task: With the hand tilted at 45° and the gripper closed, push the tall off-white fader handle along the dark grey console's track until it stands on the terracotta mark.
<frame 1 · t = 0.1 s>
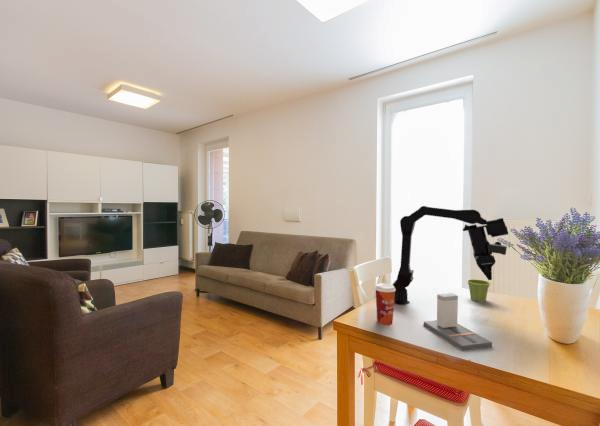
hand: (488, 277, 119), 15 cm above the table, tool pointing down, fingers open, 9 cm apart
fader handle: (447, 310, 105), point 7 cm above the table, slide at 0.0 cm
fader console: (455, 335, 101), on the table
paper cup: (384, 322, 113), on the table
plant pot: (478, 300, 138), on the table
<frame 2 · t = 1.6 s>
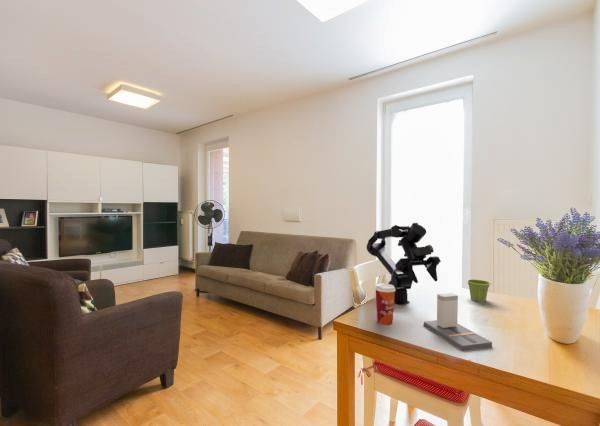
hand: (426, 281, 118), 14 cm above the table, tool tilted 40°, fingers open, 9 cm apart
nothing on the table moved.
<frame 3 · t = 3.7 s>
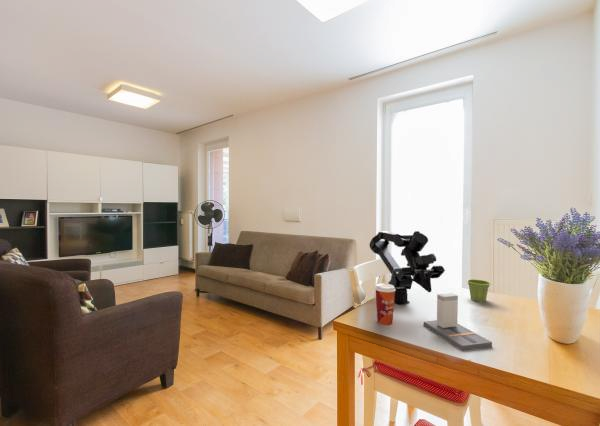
hand: (430, 291, 114), 11 cm above the table, tool tilted 45°, fingers closed
nothing on the table moved.
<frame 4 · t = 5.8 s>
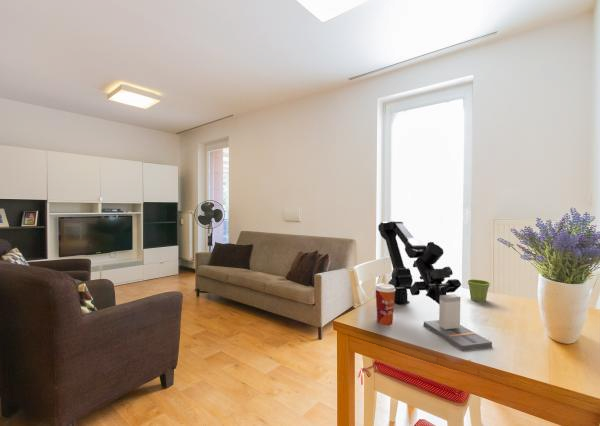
hand: (446, 308, 106), 8 cm above the table, tool tilted 45°, fingers closed, pressing on fader handle
fader handle: (449, 311, 104), point 7 cm above the table, slide at 1.2 cm, touching gripper
everything else where it was.
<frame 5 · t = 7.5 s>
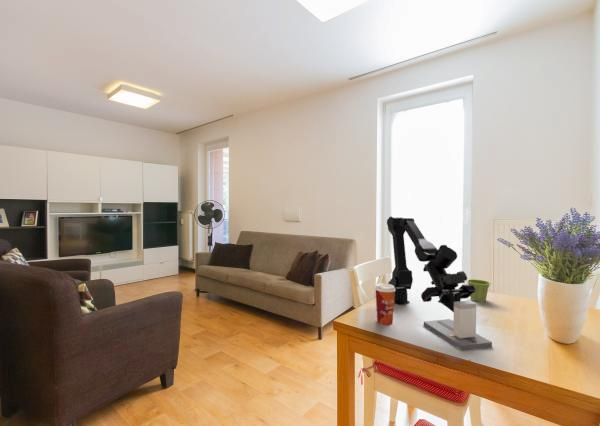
hand: (460, 316, 99), 8 cm above the table, tool tilted 45°, fingers closed, pressing on fader handle
fader handle: (464, 319, 97), point 7 cm above the table, slide at 8.2 cm, touching gripper
everything else where it was.
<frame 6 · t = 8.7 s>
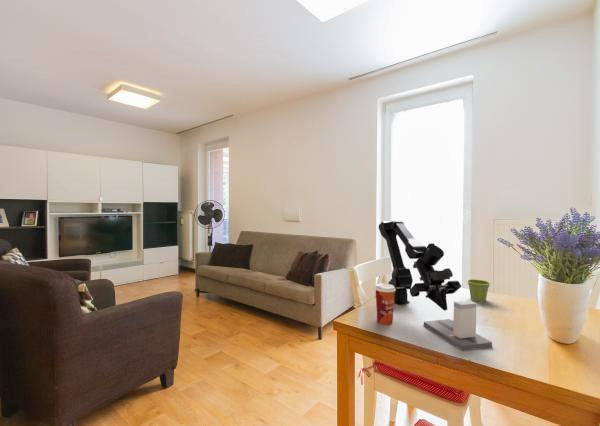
hand: (445, 310, 106), 7 cm above the table, tool tilted 45°, fingers closed
fader handle: (464, 319, 97), point 7 cm above the table, slide at 8.2 cm
everything else where it was.
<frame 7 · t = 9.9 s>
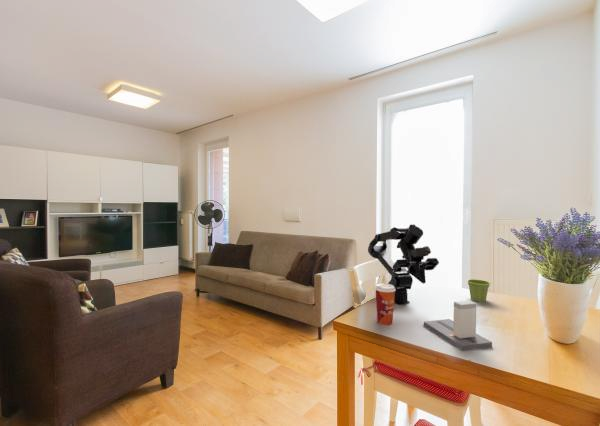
hand: (424, 283, 118), 14 cm above the table, tool tilted 45°, fingers closed
nothing on the table moved.
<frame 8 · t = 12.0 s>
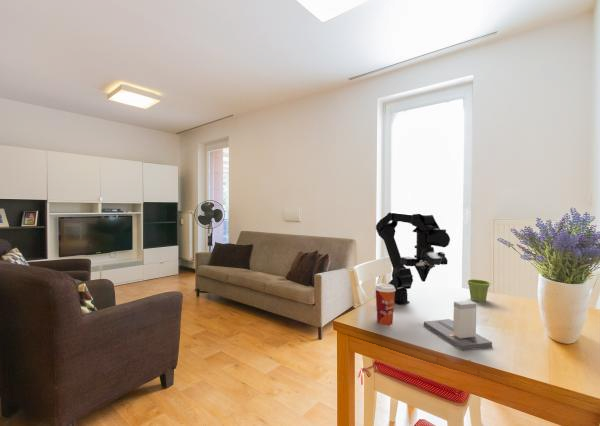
hand: (423, 281, 122), 13 cm above the table, tool pointing down, fingers closed
nothing on the table moved.
at the end: fader handle slide at 8.2 cm; paper cup moved 0.2 cm from its start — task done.
